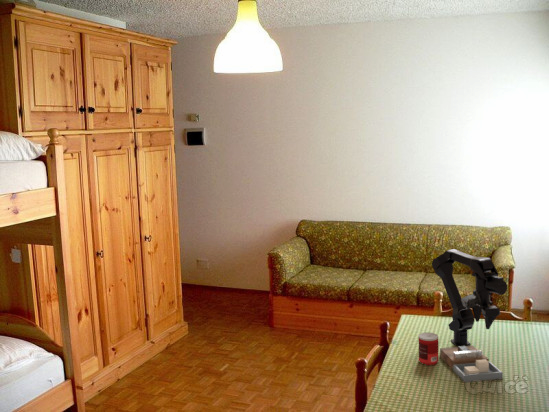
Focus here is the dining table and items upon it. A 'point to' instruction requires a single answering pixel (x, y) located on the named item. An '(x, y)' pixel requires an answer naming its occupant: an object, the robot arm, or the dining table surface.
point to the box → (492, 374)
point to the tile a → (471, 370)
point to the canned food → (428, 348)
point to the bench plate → (448, 358)
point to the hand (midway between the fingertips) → (482, 325)
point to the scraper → (466, 353)
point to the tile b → (482, 365)
